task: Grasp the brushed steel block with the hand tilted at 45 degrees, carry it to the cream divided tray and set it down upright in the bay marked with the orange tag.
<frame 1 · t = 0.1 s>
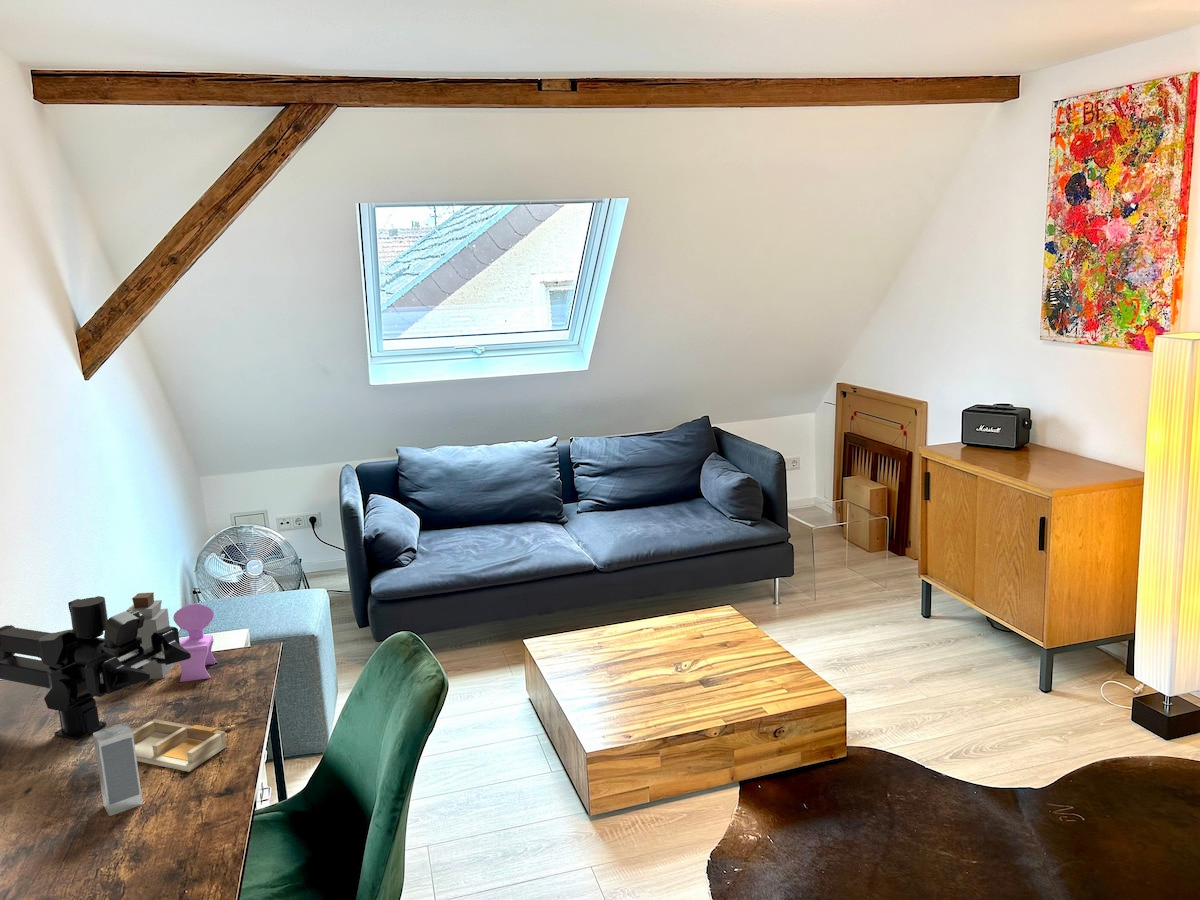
hand: (170, 665, 163), 17 cm above the table, tool horizontal, fingers open, 9 cm apart
perfume bottle: (153, 673, 201), on the table
brushed steel block: (123, 805, 149), on the table
toy chair: (198, 673, 201), on the table
cream divided tray: (171, 751, 166), on the table
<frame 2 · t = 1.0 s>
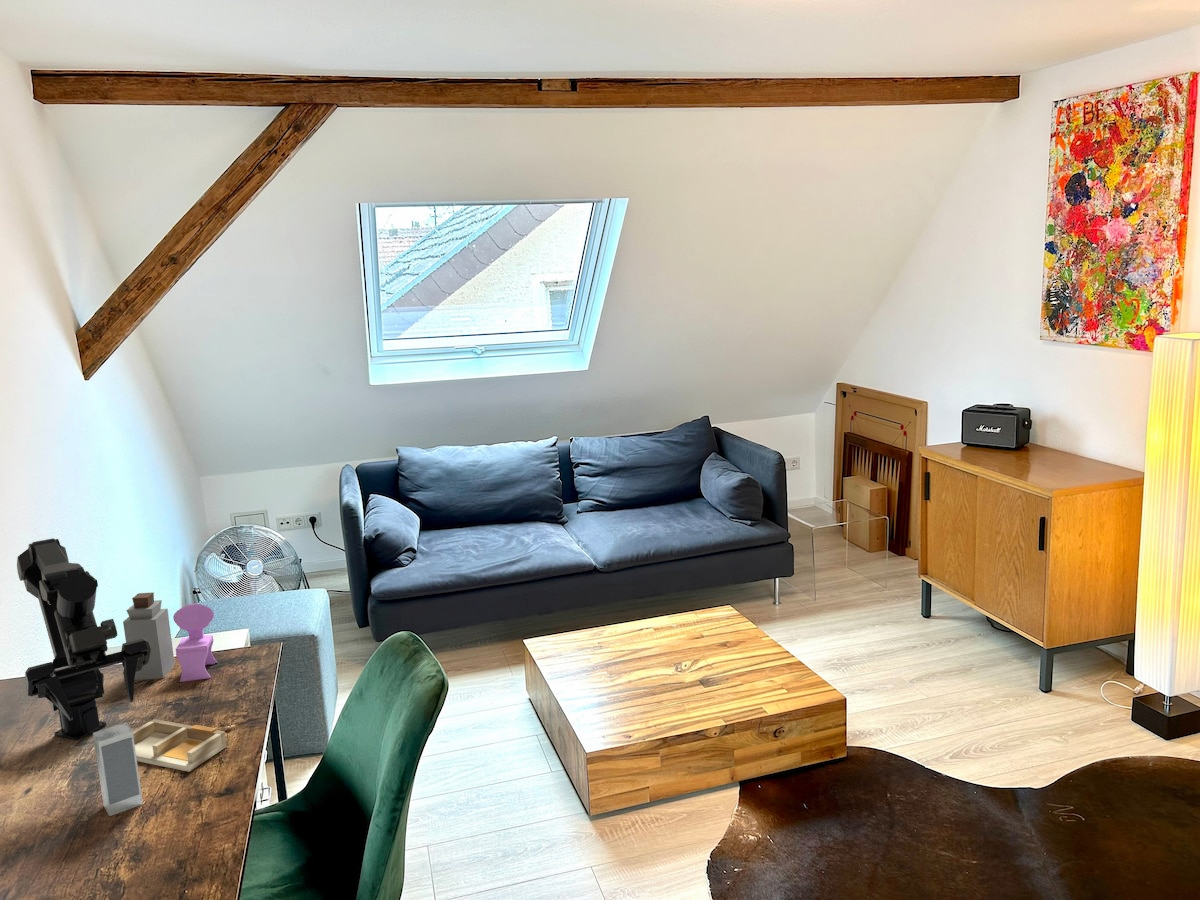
hand: (102, 710, 153), 14 cm above the table, tool tilted 45°, fingers open, 9 cm apart
nothing on the table moved.
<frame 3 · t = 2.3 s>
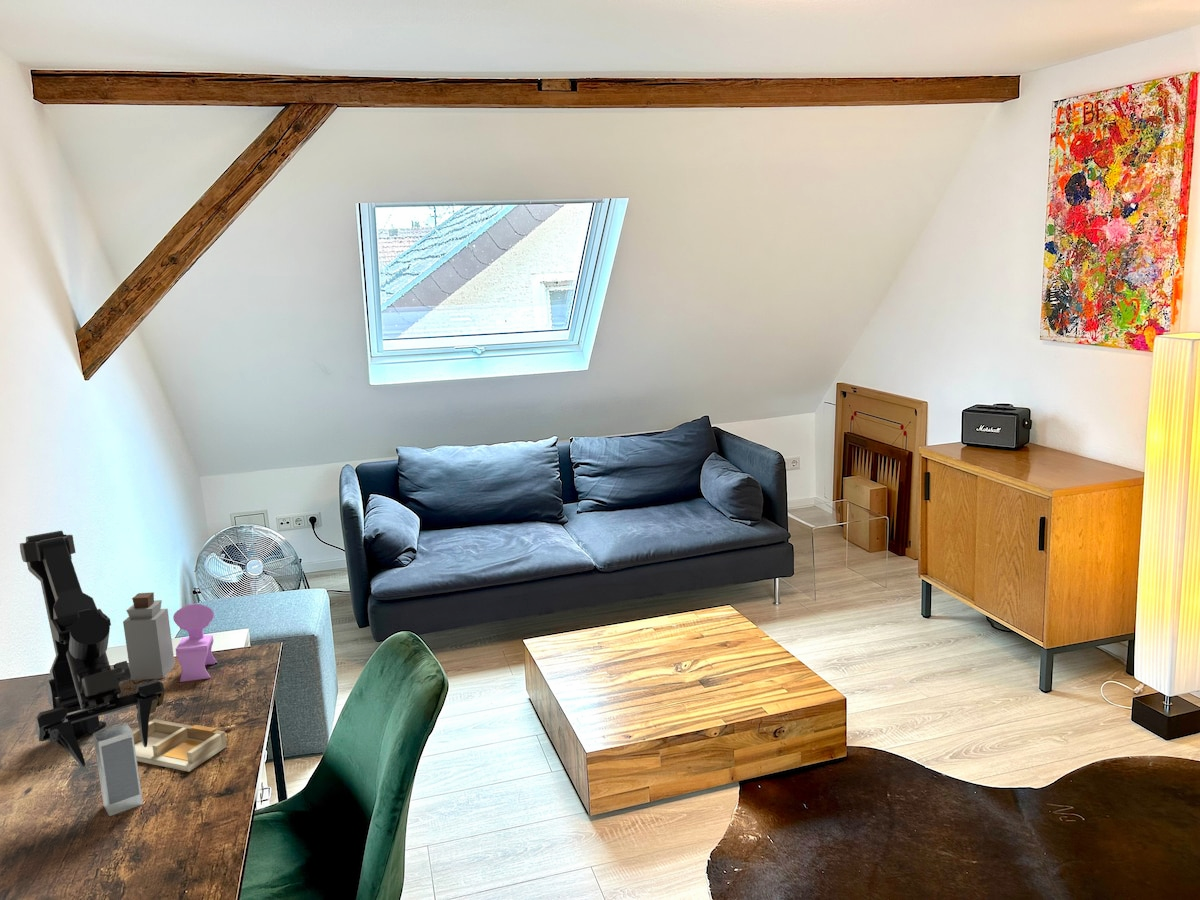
hand: (115, 755, 148), 8 cm above the table, tool tilted 45°, fingers open, 9 cm apart
nothing on the table moved.
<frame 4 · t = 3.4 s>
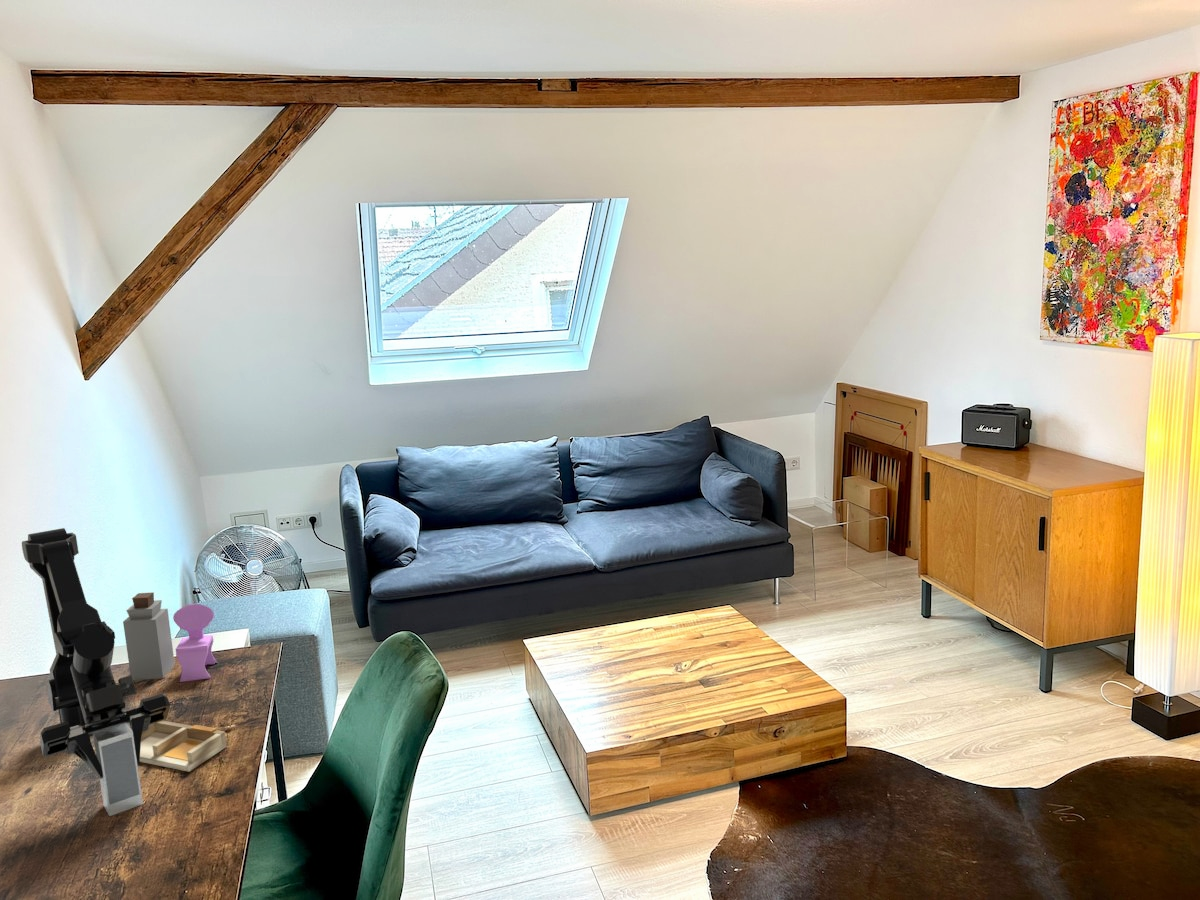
hand: (120, 771, 147), 7 cm above the table, tool tilted 45°, fingers closed on brushed steel block, 5 cm apart
brushed steel block: (123, 805, 149), on the table, touching gripper
everything else where it was.
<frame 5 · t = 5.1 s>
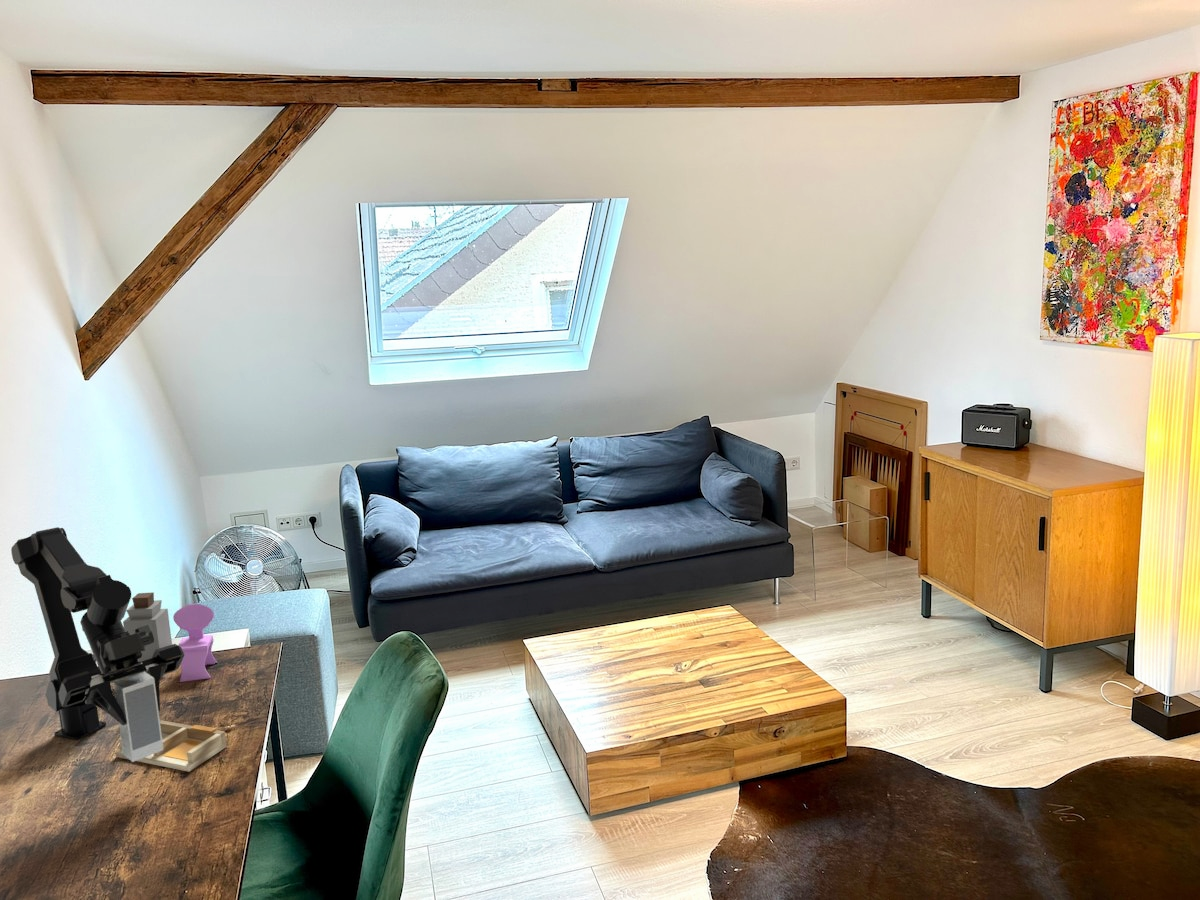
hand: (141, 717, 150), 13 cm above the table, tool tilted 45°, fingers closed on brushed steel block, 5 cm apart
brushed steel block: (143, 751, 153), point 7 cm above the table, touching gripper
everything else where it was.
when the fingers open (9 cm above the table, at t = 7.1 s): brushed steel block drops 1 cm, resting on cream divided tray.
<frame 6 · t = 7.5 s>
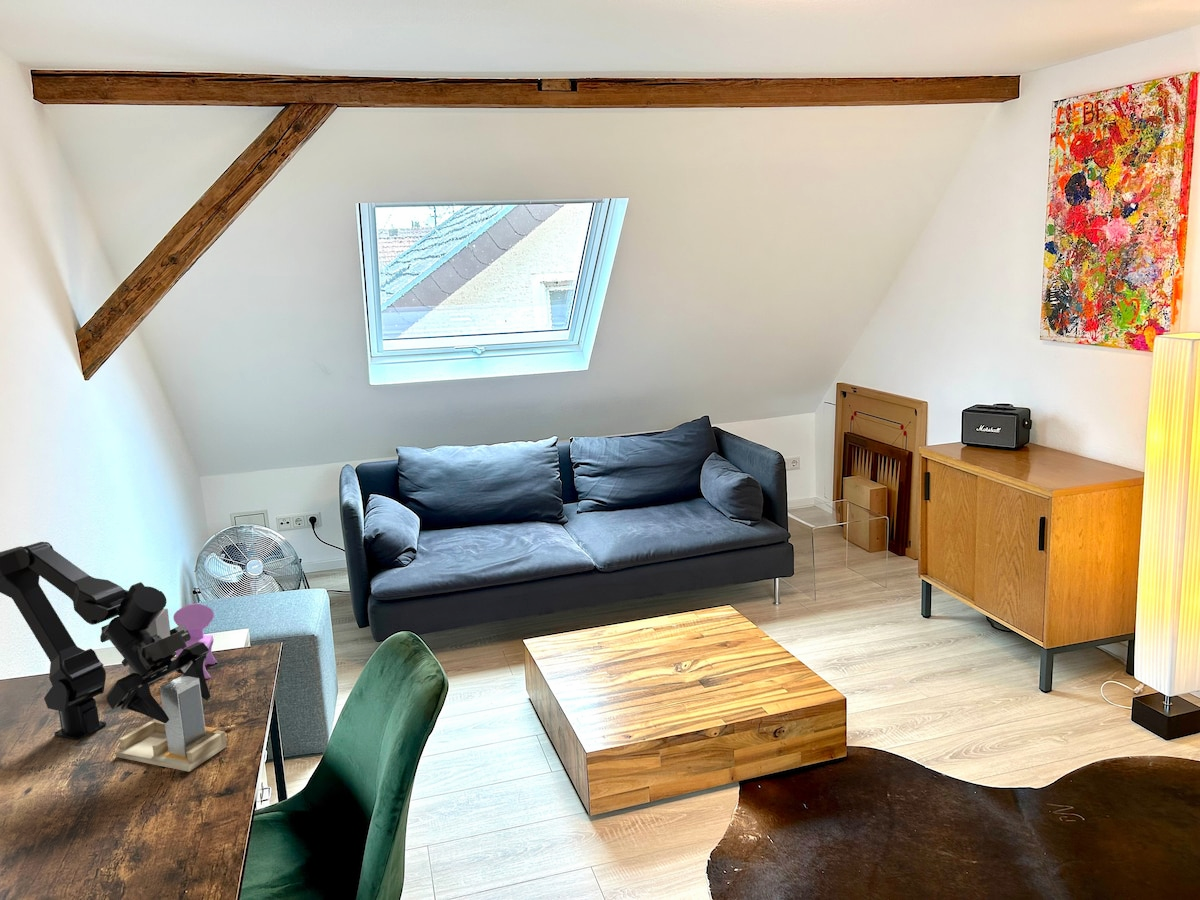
hand: (188, 709, 162), 9 cm above the table, tool tilted 45°, fingers open, 9 cm apart
brushed steel block: (188, 749, 164), point 1 cm above the table, touching cream divided tray
everything else where it was.
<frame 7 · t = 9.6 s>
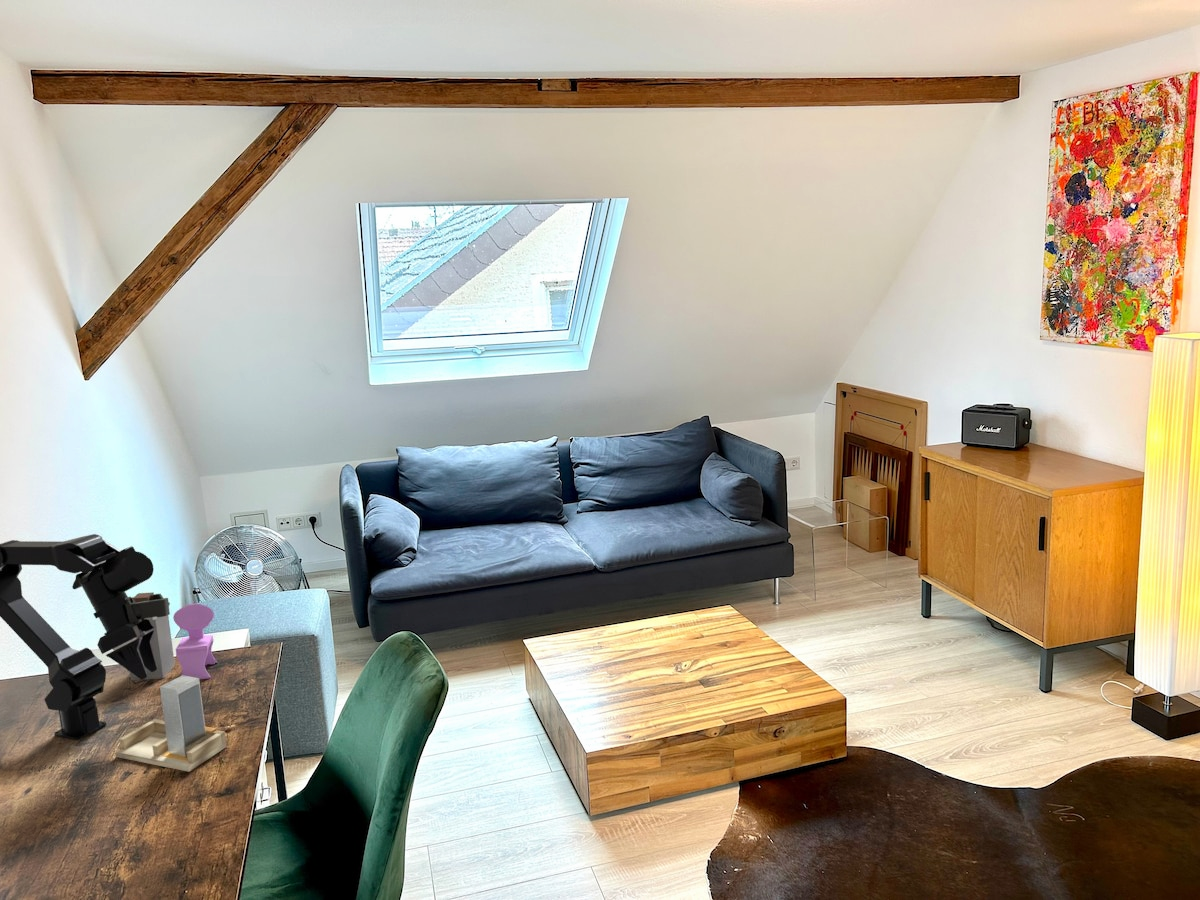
hand: (149, 674, 168), 13 cm above the table, tool tilted 25°, fingers open, 9 cm apart
nothing on the table moved.
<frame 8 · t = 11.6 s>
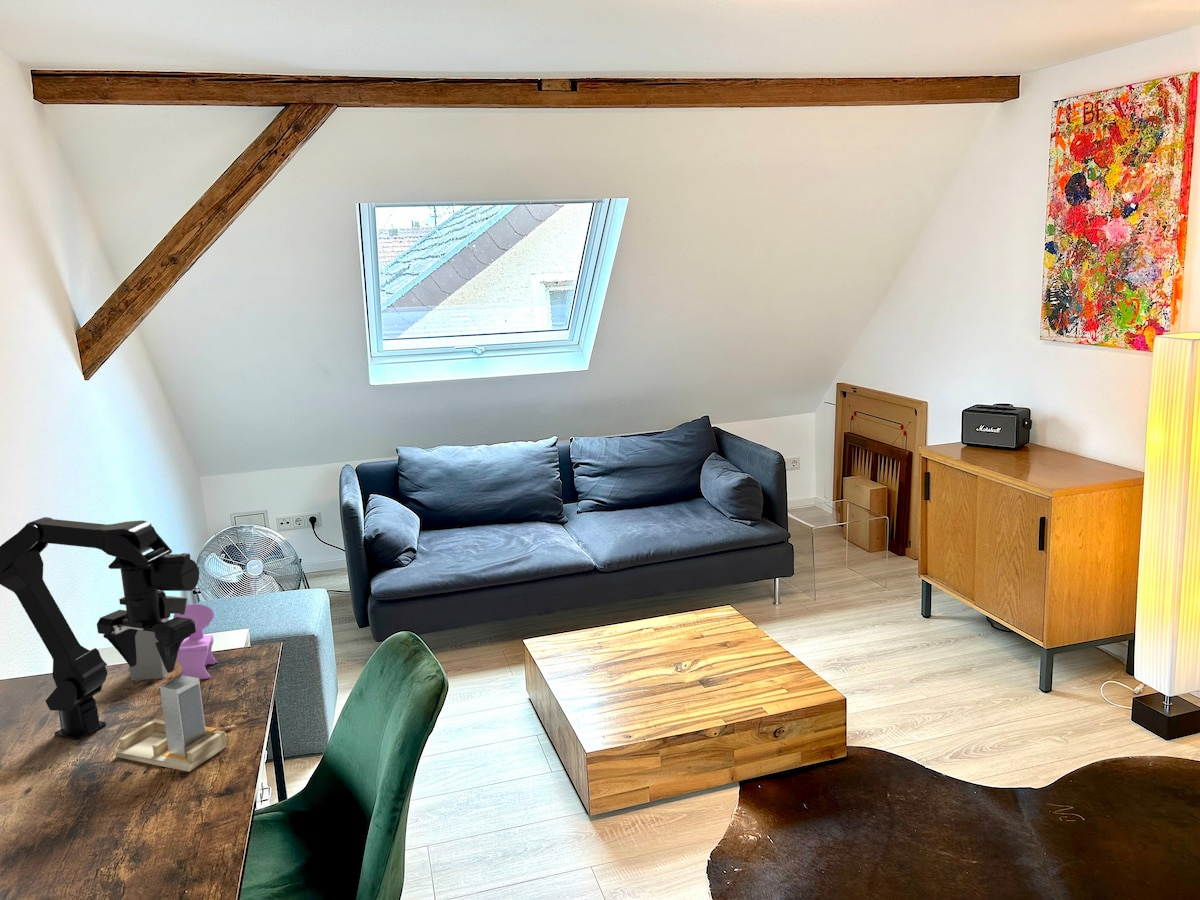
hand: (151, 668, 171), 13 cm above the table, tool pointing down, fingers open, 9 cm apart
nothing on the table moved.
at the end: brushed steel block inside the target area on the cream divided tray (0.5 cm from its centre), point 1.1 cm above the cream divided tray's base; brushed steel block tilted 0°; the gripper is holding nothing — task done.
